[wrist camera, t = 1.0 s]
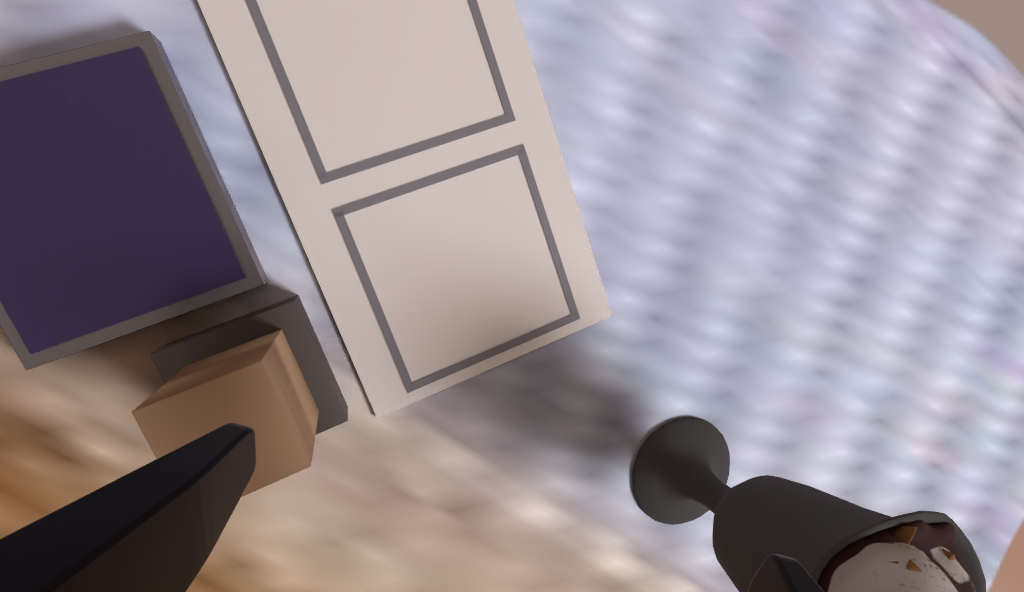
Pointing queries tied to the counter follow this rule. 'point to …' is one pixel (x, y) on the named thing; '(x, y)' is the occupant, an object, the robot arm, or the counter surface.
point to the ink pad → (108, 201)
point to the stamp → (247, 389)
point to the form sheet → (416, 180)
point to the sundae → (797, 522)
